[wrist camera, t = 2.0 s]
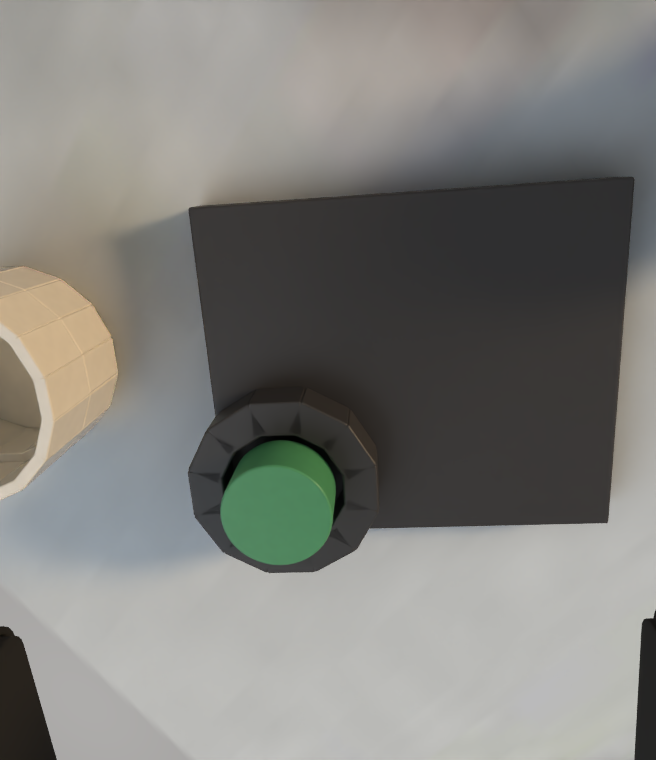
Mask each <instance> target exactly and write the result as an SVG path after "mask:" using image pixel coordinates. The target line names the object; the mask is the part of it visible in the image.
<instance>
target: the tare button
mask: <svg viewBox="0 0 656 760" xmlns="http://www.w3.org/2000/svg"><path fill="white" fill-rule="evenodd" d="M335 497H336V483H335V478H334V475H333V473H332V470H331V468H330V467H329V465H328V463H327V462H326V461H325V460H324V458H323V457H322V456H321V455H319V454H318V453H317V452H316V451H314V450H313V449H311V448H310V447H308V446H306V445H303V444H301V443H298V442H294V441H288V440H276V441H270V442H266V443H263V444H260V445H258V446H256V447H254V448H253V449H251V450H250V451H249V452H248V453H246V454H245V455H244V456H243V458H242V459H241V460H240V462H239V464H238V465H237V467H236V469H235V471H234V473H233V476H232V478H231V480H230V482H229V484H228V486H227V488H226V490H225V492H224V495H223V497H222V501H221V507H220V515H221V521H222V525H223V528H224V531H225V533H226V535H227V537H228V538H229V540H230V541H231V542H232V544H233V545H234V546H235V547H236V548H237V549H238V550H240V551H241V552H242V553H243V554H245V555H246V556H248V557H250V558H252V559H254V560H256V561H259V562H262V563H266V564H271V565H289V564H294V563H297V562H300V561H303V560H305V559H307V558H309V557H310V556H312V555H313V554H315V553H316V552H317V551H318V550H319V549H320V548H321V547H322V546H323V545H324V543H325V542H326V540H327V538H328V536H329V534H330V531H331V528H332V522H333V514H334V505H335Z"/></svg>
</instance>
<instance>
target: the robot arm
mask: <svg viewBox="0 0 656 760" xmlns="http://www.w3.org/2000/svg"><path fill="white" fill-rule="evenodd" d="M0 760H57V759H56V755H55V752H54V749H53V745H52V742H51V738H50V735H49V731H48V728H47V724H46V721H45V717H44V714H43V710H42V707H41V704H40V700H39V696H38V693H37V689H36V686H35V683H34V679H33V675H32V672H31V669H30V665H29V662H28V658H27V655H26V651H25V648H24V644H23V642H22V640H21V639H20V638H19V637H17V636H15V635H14V633H13V631H12V630H11V629H10V628H9V627H4V626H3V627H0ZM635 760H656V611H655V613H654V618H650V619H644V621H643V623H642V631H641V650H640V668H639V686H638V705H637V723H636V742H635Z"/></svg>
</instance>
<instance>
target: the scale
mask: <svg viewBox="0 0 656 760" xmlns="http://www.w3.org/2000/svg"><path fill="white" fill-rule="evenodd" d="M633 190H634V178H633V177H611V178H597V179H582V180H568V181H553V182H539V183H525V184H510V185H496V186H481V187H467V188H452V189H438V190H424V191H409V192H395V193H380V194H366V195H352V196H337V197H323V198H308V199H294V200H279V201H265V202H251V203H236V204H222V205H207V206H197V207H191V208H189V217H190V225H191V232H192V240H193V248H194V255H195V263H196V271H197V278H198V286H199V294H200V301H201V309H202V317H203V324H204V332H205V340H206V347H207V355H208V362H209V370H210V378H211V385H212V393H213V401H214V408H215V416H216V417H215V418H214V420H213V421H212V423H211V424H210V426H209V427H208V429H207V430H206V432H205V434H204V437H203V439H202V441H201V443H200V445H199V447H198V450H197V452H196V454H195V456H194V458H193V460H192V462H191V465H190V467H189V471H188V477H189V483H190V490H191V497H192V503H193V510H194V515H195V518H196V519H197V520H198V522H199V523H200V524H201V525H202V527H203V528H204V529H205V530H206V532H207V533H208V534H209V535H210V537H211V538H212V539H213V540H214V542H215V543H216V544H217V545H218V547H219V548H220V549H221V550H222V552H225V553H226V554H228V555H230V556H232V557H234V558H236V559H238V560H241V561H243V562H245V563H247V564H249V565H251V566H254V567H256V568H258V569H260V570H262V571H265V572H269V573H286V572H315V571H318V570H320V569H322V568H324V567H326V566H327V565H329V564H331V563H333V562H335V561H337V560H339V559H340V558H342V557H344V556H346V555H348V554H350V553H351V552H353V551H355V550H356V549H357V548H358V546H359V545H360V543H361V541H362V540H363V538H364V536H365V535H366V533H367V531H368V530H369V528H408V527H452V526H496V525H539V524H583V523H607V522H608V516H609V503H610V490H611V477H612V464H613V451H614V438H615V425H616V412H617V399H618V386H619V373H620V360H621V347H622V334H623V321H624V308H625V295H626V282H627V269H628V255H629V242H630V229H631V216H632V203H633ZM276 440H288V441H294V442H298V443H301V444H303V445H306V446H308V447H310V448H311V449H313V450H314V451H316V452H317V453H318V454H319V455H321V456H322V457H323V458H324V460H325V461H326V462H327V463H328V465H329V467H330V468H331V470H332V473H333V475H334V478H335V483H336V497H335V505H334V514H333V522H332V528H331V531H330V534H329V536H328V538H327V540H326V542H325V543H324V545H323V546H322V547H321V548H320V549H319V550H318V551H317V552H316V553H315V554H313V555H312V556H310V557H309V558H307V559H305V560H303V561H300V562H297V563H294V564H289V565H271V564H266V563H262V562H259V561H256V560H254V559H252V558H250V557H248V556H246V555H245V554H243V553H242V552H241V551H240V550H238V549H237V548H236V547H235V546H234V545H233V544H232V542H231V541H230V540H229V538H228V537H227V535H226V533H225V531H224V528H223V525H222V521H221V515H220V507H221V501H222V497H223V495H224V492H225V490H226V488H227V486H228V484H229V482H230V480H231V478H232V476H233V473H234V471H235V469H236V467H237V465H238V464H239V462H240V460H241V459H242V458H243V456H244V455H245V454H246V453H248V452H249V451H250V450H251V449H253V448H254V447H256V446H258V445H260V444H263V443H266V442H270V441H276Z"/></svg>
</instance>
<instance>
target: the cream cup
mask: <svg viewBox="0 0 656 760" xmlns="http://www.w3.org/2000/svg"><path fill="white" fill-rule="evenodd" d="M117 377H118V368H117V362H116V356H115V351H114V345H113V340H112V338H111V335H110V333H109V331H108V330H107V328H106V326H105V325H104V323H103V321H102V319H101V318H100V316H99V315H98V313H97V311H96V310H95V308H94V306H93V305H91V303H90V302H89V301H88V300H87V299H86V298H84V297H83V296H82V295H81V294H79V293H78V292H77V291H76V290H74V289H73V288H72V287H71V286H70V285H68V284H67V283H66V282H65V281H63V280H61V279H60V278H58V277H55V276H52V275H49V274H46V273H43V272H40V271H37V270H34V269H31V268H28V267H25V266H16V267H0V500H2V499H4V498H6V497H9V496H11V495H13V494H15V493H17V492H19V491H22V490H23V489H24V488H26V487H27V486H28V485H29V484H30V483H31V482H32V481H34V480H35V479H36V478H37V477H38V476H39V475H40V474H42V473H43V472H44V471H45V470H46V469H47V468H48V467H49V466H51V465H52V464H53V463H54V462H55V461H56V460H57V459H59V458H60V457H61V456H62V455H63V454H64V453H65V452H66V451H67V450H69V449H70V448H71V447H72V446H73V445H74V444H75V443H77V442H78V441H79V440H80V439H81V438H82V437H83V436H84V435H86V434H87V433H88V432H89V431H90V430H91V429H92V428H93V427H94V426H95V425H96V423H97V422H98V421H99V420H100V418H101V417H102V416H103V415H104V413H105V412H106V411H107V410H108V408H109V407H110V405H111V403H112V398H113V394H114V390H115V386H116V382H117Z"/></svg>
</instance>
